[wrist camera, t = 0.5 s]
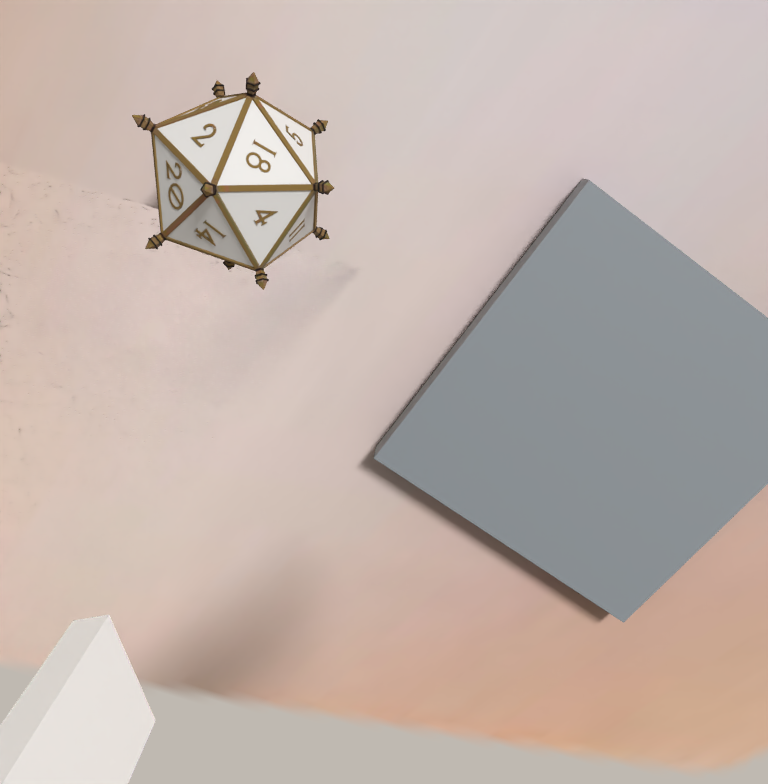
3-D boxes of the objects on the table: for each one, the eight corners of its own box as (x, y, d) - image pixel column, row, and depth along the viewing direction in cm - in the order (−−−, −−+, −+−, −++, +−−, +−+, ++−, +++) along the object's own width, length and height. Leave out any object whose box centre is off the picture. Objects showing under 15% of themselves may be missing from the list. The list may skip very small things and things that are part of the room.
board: (375, 447, 40) (373, 458, 38) (582, 178, 34) (589, 180, 33) (617, 606, 42) (623, 622, 41) (846, 382, 37) (863, 391, 35)
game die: (319, 287, 37) (281, 338, 27) (165, 233, 36) (73, 266, 27) (372, 115, 34) (350, 106, 24) (205, 54, 33) (116, 21, 24)
